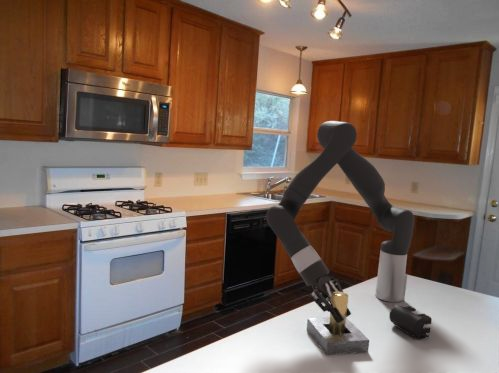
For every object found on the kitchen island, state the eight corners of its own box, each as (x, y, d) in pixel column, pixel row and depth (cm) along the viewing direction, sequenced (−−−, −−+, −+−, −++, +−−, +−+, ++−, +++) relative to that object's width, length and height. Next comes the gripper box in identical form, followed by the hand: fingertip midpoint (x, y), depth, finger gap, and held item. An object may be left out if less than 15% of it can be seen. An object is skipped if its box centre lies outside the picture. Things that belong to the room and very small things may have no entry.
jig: (344, 327, 122) (345, 316, 121) (368, 352, 108) (369, 339, 108) (306, 329, 119) (307, 318, 119) (326, 355, 105) (327, 342, 105)
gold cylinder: (339, 328, 116) (343, 291, 115) (347, 335, 112) (351, 297, 110) (325, 328, 115) (329, 291, 114) (332, 336, 111) (336, 298, 109)
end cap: (387, 326, 125) (390, 305, 124) (405, 323, 128) (407, 302, 127) (412, 342, 116) (415, 319, 115) (430, 338, 119) (433, 316, 118)
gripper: (306, 264, 110) (344, 321, 104) (329, 253, 121) (364, 304, 116) (288, 277, 113) (323, 333, 108) (312, 266, 125) (345, 316, 119)
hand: (344, 318), depth 112 cm, fingers closed on gold cylinder, 4 cm apart
